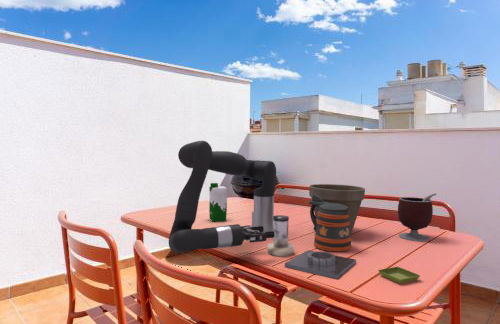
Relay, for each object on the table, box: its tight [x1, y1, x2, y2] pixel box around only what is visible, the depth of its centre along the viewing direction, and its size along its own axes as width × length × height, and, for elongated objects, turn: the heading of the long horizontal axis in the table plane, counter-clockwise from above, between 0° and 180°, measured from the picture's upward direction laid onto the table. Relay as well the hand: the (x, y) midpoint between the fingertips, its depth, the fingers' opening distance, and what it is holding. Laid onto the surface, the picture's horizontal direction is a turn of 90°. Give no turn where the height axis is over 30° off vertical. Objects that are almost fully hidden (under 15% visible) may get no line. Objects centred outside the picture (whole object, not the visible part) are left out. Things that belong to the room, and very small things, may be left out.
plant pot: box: [308, 183, 366, 236], centre depth 160 cm, size 25×25×22 cm
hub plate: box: [284, 249, 357, 280], centre depth 117 cm, size 18×18×3 cm
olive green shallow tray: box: [377, 266, 421, 285], centre depth 106 cm, size 9×9×2 cm
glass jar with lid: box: [272, 214, 290, 248], centre depth 130 cm, size 6×6×11 cm
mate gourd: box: [397, 192, 437, 242], centre depth 153 cm, size 16×14×20 cm
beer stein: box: [308, 194, 352, 253], centre depth 139 cm, size 19×15×20 cm
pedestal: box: [266, 242, 295, 258], centre depth 130 cm, size 10×10×2 cm
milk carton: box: [208, 182, 228, 223], centre depth 185 cm, size 9×9×20 cm
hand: (268, 231), depth 128 cm, fingers open, 8 cm apart
